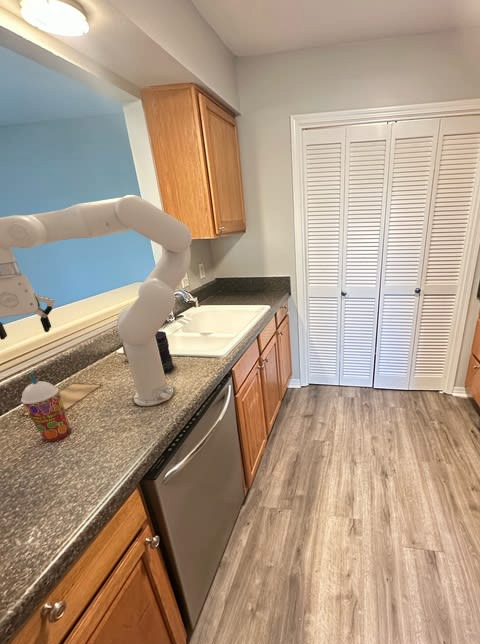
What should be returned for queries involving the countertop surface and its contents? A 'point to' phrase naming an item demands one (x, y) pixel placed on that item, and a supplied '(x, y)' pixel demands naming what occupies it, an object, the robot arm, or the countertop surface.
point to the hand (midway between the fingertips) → (26, 334)
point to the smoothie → (46, 409)
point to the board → (74, 394)
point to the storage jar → (164, 351)
